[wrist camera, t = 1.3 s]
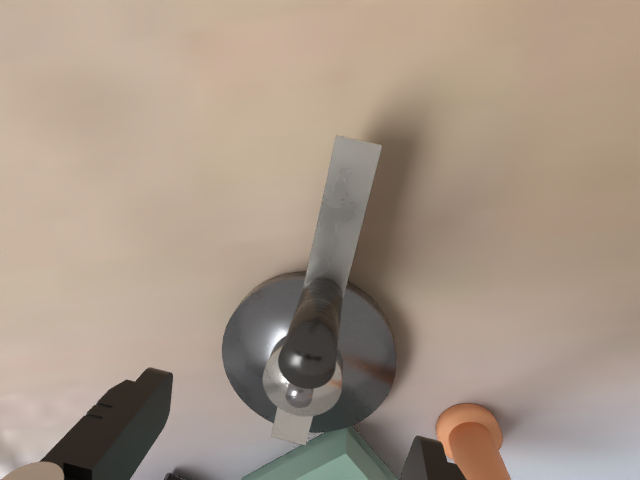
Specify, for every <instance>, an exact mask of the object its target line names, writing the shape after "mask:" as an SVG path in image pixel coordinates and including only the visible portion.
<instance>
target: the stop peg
mask: <svg viewBox="0 0 640 480" xmlns="http://www.w3.org/2000/svg"><path fill="white" fill-rule="evenodd" d="M436 434H437V438H438V441H440V442H441V443H442V444H443V447H444V451H445V454H446V455H447V456H448V457H449V458H451V459H453V460H454V462H455V464H457V465H458V467H459V469H460V470H461V472H462V473H463V475H464V476H465V478H466V479H467V480H511V478H510V476H509V474H508V471H507V469H506V467H505V464H504V462H503V460H502V457H501V455H500V453H499V449H500V448H501V445H502V442H503V435H502V432H501V429H500V427H499V425H498V423H497V421H496V419H495V417H494V415H493V414H492V413H491V412H490V411H489V410H487V409H486V408H484V407H482V406H479V405H475V404H458V405H455V406H452V407H450V408H448V409H446V410H445V411H444V412H443V413H442V414H441V415H440V416H439V418H438V420H437V422H436Z"/></svg>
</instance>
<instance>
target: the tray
mask: <svg viewBox="0 0 640 480" xmlns="http://www.w3.org/2000/svg"><path fill="white" fill-rule="evenodd" d="M242 480H398V479H397V477H396V476H395V475H394V474H393V473H392V472H391V470H390V469H389V468H388V467H387V466H386V465H385V464H384V462H383V461H382V460H381V459H380V458H379V457H378V455H377V454H376V453H375V452H374V451H373V450H372V449H371V447H370V446H369V445H368V444H367V443H366V442H365V440H364V439H363V438H362V437H361V436H360V435H359V433H358V432H357V431H356V430H355V429H354V428H353V427H352V426H350V427H347V428H343V429H340V430H336V431H331V432H325V433H323V434H321V435H320V436H318V437H316V438H314V439H312V440H310V441H309V442H307V443H306V445H301V446H300V447H298V448H296V449H294V450H292V451H290V452H289V453H287V454H285V455H283V456H281V457H279V458H278V459H276V460H274V461H272V462H270V463H269V464H267V465H265V466H263V467H261V468H259V469H258V470H256V471H254V472H252V473H250V474H248V475H247V476H245V477H243V478H242Z"/></svg>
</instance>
